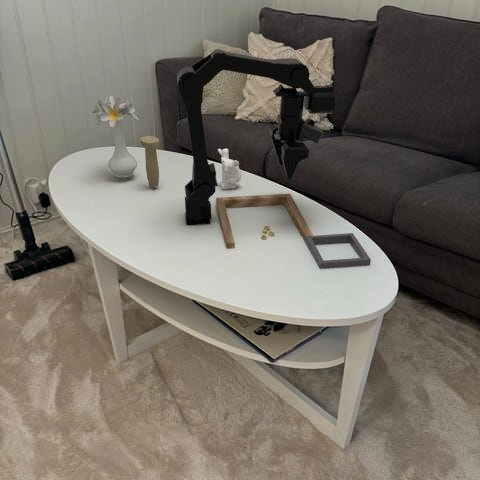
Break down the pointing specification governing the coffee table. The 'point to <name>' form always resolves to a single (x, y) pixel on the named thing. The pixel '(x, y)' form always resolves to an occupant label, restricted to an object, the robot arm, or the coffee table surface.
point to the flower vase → (117, 133)
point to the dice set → (266, 228)
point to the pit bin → (334, 239)
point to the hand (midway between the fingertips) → (285, 171)
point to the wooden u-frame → (259, 201)
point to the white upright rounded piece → (229, 171)
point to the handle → (151, 159)
